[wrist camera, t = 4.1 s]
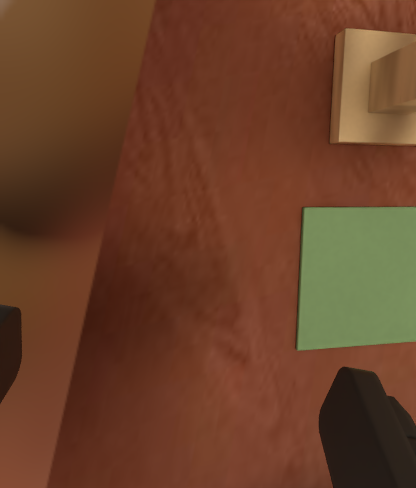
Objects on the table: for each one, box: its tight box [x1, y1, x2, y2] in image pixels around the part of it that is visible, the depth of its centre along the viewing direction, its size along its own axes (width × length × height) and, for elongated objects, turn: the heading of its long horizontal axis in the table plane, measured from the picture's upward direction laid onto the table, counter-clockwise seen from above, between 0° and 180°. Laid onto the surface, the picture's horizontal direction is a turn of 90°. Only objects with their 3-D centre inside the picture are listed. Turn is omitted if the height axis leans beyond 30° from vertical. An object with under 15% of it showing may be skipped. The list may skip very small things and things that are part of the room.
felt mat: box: [296, 207, 416, 350], centre depth 34 cm, size 20×12×1 cm, turn 89°
